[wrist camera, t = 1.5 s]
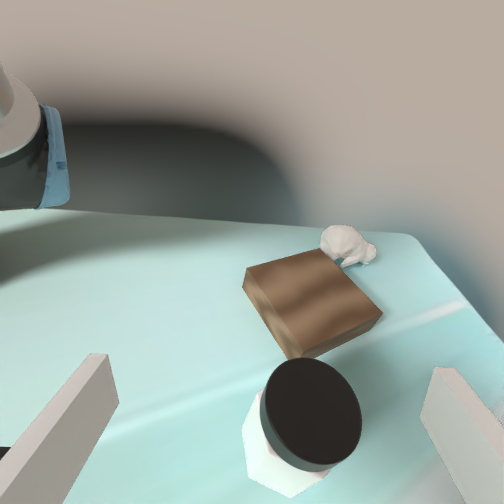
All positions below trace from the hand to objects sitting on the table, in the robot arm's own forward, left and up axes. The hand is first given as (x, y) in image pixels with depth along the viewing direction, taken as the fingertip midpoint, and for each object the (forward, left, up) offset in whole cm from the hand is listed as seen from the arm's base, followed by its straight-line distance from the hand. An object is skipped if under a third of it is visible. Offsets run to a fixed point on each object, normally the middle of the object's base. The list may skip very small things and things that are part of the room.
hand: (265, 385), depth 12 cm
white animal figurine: (-20, +36, -24) cm, 48 cm away
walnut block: (-14, +22, -24) cm, 35 cm away
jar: (0, +8, -24) cm, 25 cm away
